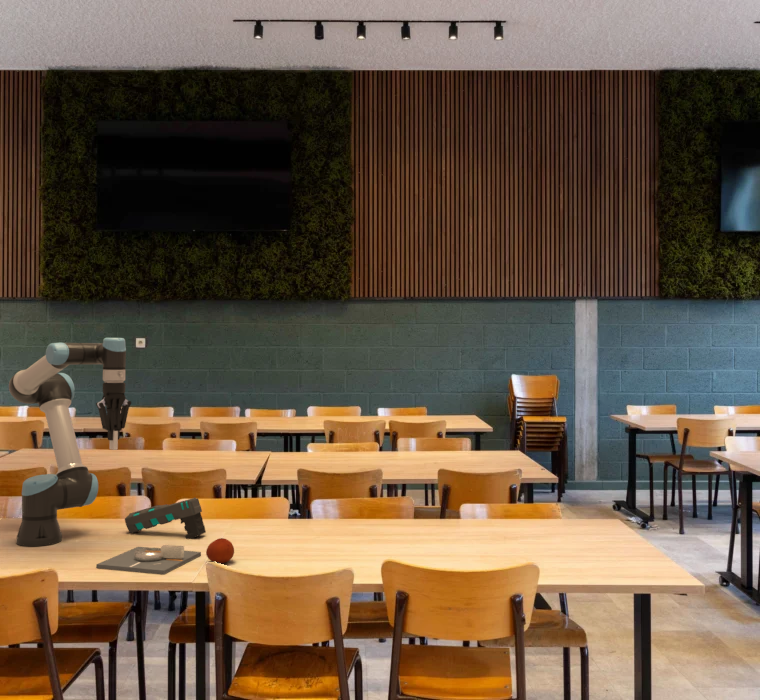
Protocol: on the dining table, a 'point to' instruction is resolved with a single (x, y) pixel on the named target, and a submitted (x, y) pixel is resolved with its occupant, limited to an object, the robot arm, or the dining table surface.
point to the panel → (156, 567)
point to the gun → (169, 517)
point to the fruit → (220, 550)
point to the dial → (159, 553)
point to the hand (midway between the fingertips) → (113, 449)
